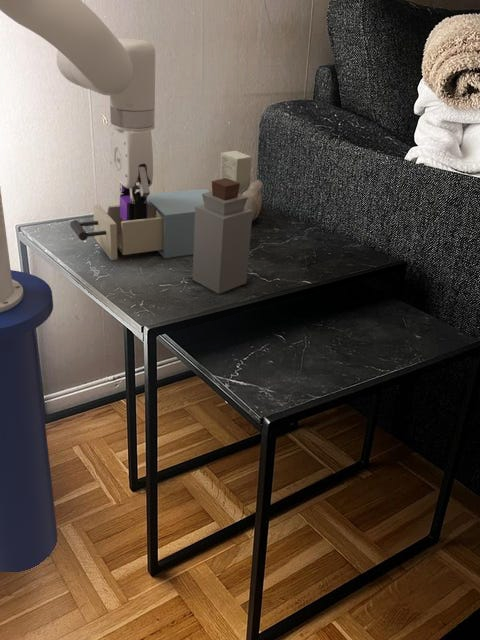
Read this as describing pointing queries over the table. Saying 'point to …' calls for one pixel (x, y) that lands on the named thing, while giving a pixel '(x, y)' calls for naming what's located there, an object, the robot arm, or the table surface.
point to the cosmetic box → (236, 168)
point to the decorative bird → (254, 198)
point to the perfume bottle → (222, 237)
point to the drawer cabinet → (177, 219)
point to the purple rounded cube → (126, 207)
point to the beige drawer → (123, 231)
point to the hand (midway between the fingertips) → (133, 217)
